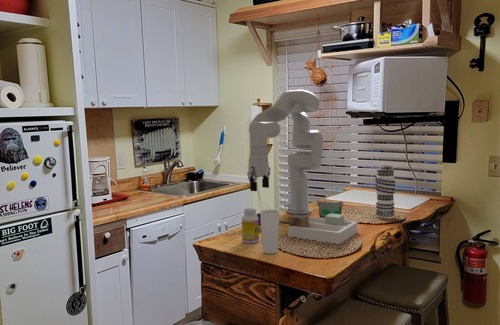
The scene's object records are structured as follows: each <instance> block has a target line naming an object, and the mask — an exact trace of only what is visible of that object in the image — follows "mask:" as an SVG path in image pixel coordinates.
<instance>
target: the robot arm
mask: <svg viewBox="0 0 500 325" xmlns="http://www.w3.org/2000/svg"><path fill="white" fill-rule="evenodd" d="M320 105H321V104H320V99H319V98H318V96H317V95H316V94H314V93H313V92H310V91H308V90H306V89H305V90H304V89H296V90H287V91H283V93H281V95H280V96H279V98H278V99H277V100H276V101H275V103H274V104H273V105H272V106H271V107H269V108H267V109H265V110H263V111H261V112H259V113H258V114H256V116H254V118H253V119H252V121H251V122H250V124H249V127H248V133H249V153H250V154H249V157H248V170H247V173H246V175H247V179H248V181H249V188H250V189H249V190H250V192H257V191H258V182H257V179H258V178H260V177H262V178H261V181H262V182H261V185H262V186H261V187H262V188H264V189H265V188H267V189H269V188H270V175H271V170H272V168H271V167H269V166H270V165H269V157H268V156H269V155H268V139H274V138H276V137H278V136H279V135H280V133H281V126H280V124H279V123H280V122H281V121H283V120H286V119H287V118H288V117H289V115H291V117H292V122H293V126H292V127H293V128H292V143H291V144H292V146H293V148H294V149H297V150H311V151H297V150H296V151H292V152H290V153H289V154H288V156H287V165H288V171H289V197H290V198H289V202H284V203H283V206H284V208H287V210H286V211H287V213H289V214H291V215H295V214H299V215H307V214H310V213H312V209H311V208H310V207H309V205H310V204H309V199H310V198H309V176H308V174H307V172H306V171H318V170H320V169H321V167H322V162H323V150H324V149H323V148H324V138H323V134H322V133H321V132H320V131H319V130H310V127H311V126H310V125H311V121H310V119H309V116H308V115H307V113H314V112H317V111H318V110H319V108H320ZM278 122H279V123H278Z"/></svg>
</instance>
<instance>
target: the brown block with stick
mask: <svg viewBox="0 0 500 325" xmlns="http://www.w3.org/2000/svg"><path fill="white" fill-rule="evenodd" d="M256 216H258V219H259V227H261V212H258V213H257V212H256ZM308 222H309V214H308V215H307V214H291V215H290V216H288V221H283V220H279V224H284V225H288V226H297V227H305V228H308Z"/></svg>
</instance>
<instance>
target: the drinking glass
mask: <svg viewBox="0 0 500 325" xmlns="http://www.w3.org/2000/svg"><path fill="white" fill-rule="evenodd" d="M260 213H261V226H260V230H261V240H262V251H263V253H264V254H266V255H273V254H277V253H278V251H279V232H280V223H279V221H280V211H278V210H277V209H264V210H261V211H260Z"/></svg>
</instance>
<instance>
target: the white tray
mask: <svg viewBox="0 0 500 325" xmlns="http://www.w3.org/2000/svg"><path fill="white" fill-rule="evenodd" d="M358 227H359V224H358V221H354V220H353V221H352V220H345V219H344V226H338V225H330V224H325V218H320V216H319V217H318V216H308V228H305V227H297V226H289V225H288V227H287V228H288V229H287V230H288V237H289V236H293V237H297V238H296V239H299V238H302V239H301V240H306V239H309V240H308V241H312V240H316V241H315V242H319V241H323V242H322V243H326V242H330V243H329V244H332V243H336V244H335V245H339V244H340V243H341V244H343V243H344V242H345V240H346V241H347V240H349V239H350V238H352V237H353V236H355V235H356V234H358V231H359V229H358ZM351 236H352V237H351ZM348 238H349V239H348ZM342 242H343V243H342ZM341 244H340V245H341Z"/></svg>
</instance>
